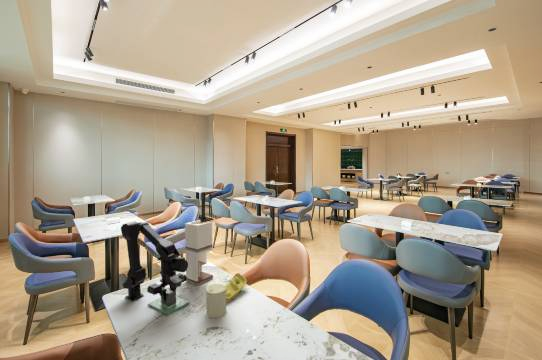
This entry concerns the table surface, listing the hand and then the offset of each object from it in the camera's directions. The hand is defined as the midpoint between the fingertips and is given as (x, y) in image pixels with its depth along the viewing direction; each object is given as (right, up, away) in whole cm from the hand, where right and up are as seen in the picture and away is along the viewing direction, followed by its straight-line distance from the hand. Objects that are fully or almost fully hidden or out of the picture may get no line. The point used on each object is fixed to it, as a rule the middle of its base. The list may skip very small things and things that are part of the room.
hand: (168, 299), depth 131 cm
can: (+25, -3, -7) cm, 26 cm away
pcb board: (0, -2, 0) cm, 2 cm away
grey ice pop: (-2, -1, +1) cm, 2 cm away
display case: (+8, -1, +28) cm, 29 cm away
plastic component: (+29, -2, +11) cm, 32 cm away
